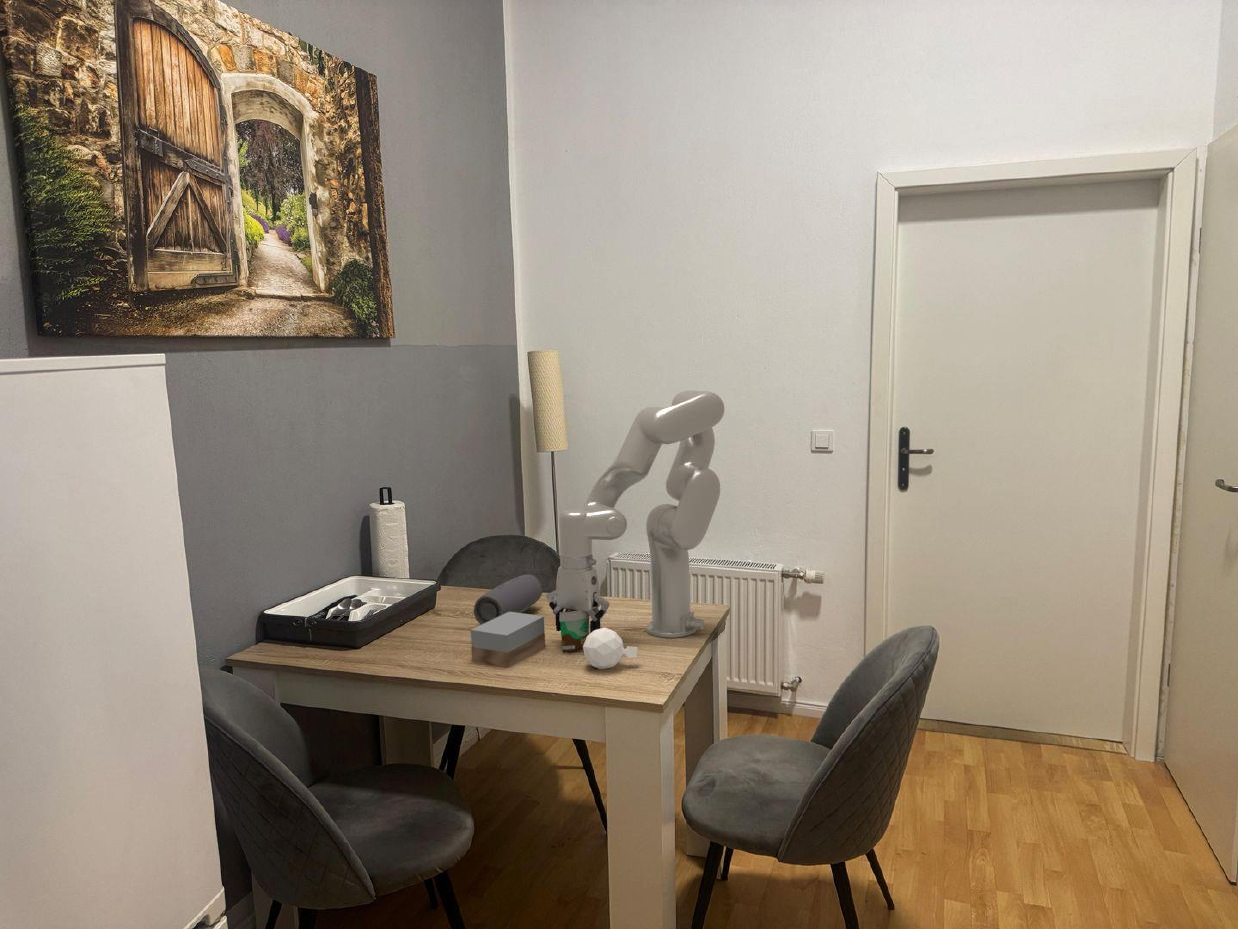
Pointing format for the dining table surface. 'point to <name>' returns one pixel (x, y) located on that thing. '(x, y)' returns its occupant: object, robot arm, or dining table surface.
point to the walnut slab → (511, 657)
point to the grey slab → (507, 631)
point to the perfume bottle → (606, 648)
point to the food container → (574, 629)
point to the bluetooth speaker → (508, 598)
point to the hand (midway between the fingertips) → (577, 632)
